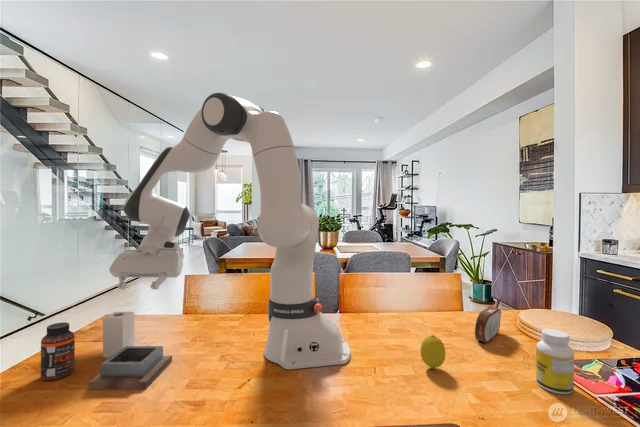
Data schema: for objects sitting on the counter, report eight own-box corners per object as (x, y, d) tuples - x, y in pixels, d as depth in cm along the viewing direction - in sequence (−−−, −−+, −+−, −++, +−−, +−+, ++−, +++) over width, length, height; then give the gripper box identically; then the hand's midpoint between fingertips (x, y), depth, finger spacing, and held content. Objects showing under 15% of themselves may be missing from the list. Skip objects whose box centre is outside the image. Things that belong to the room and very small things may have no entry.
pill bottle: (537, 375, 73) (538, 324, 73) (574, 386, 69) (574, 331, 69) (534, 388, 68) (534, 333, 68) (573, 400, 64) (574, 341, 64)
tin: (491, 329, 101) (491, 302, 101) (502, 332, 98) (503, 305, 98) (473, 344, 90) (473, 314, 90) (485, 347, 88) (485, 316, 88)
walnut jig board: (172, 361, 79) (172, 355, 79) (146, 388, 67) (146, 381, 67) (123, 361, 79) (122, 355, 79) (88, 389, 67) (88, 382, 67)
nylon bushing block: (134, 348, 87) (133, 311, 87) (122, 357, 82) (122, 317, 82) (115, 348, 87) (115, 311, 86) (103, 357, 82) (102, 317, 81)
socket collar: (163, 358, 78) (162, 346, 78) (142, 378, 69) (142, 364, 69) (125, 358, 78) (125, 346, 78) (100, 378, 69) (100, 364, 69)
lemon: (429, 376, 73) (429, 341, 72) (415, 364, 78) (416, 331, 78) (450, 373, 74) (450, 338, 74) (435, 361, 79) (436, 329, 79)
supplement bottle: (55, 383, 70) (55, 331, 69) (33, 380, 71) (32, 329, 71) (81, 369, 75) (80, 321, 75) (60, 367, 77) (59, 319, 76)
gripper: (117, 243, 100) (95, 282, 90) (183, 243, 100) (169, 282, 91) (125, 256, 105) (106, 294, 95) (189, 256, 105) (176, 294, 95)
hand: (137, 288), depth 93 cm, fingers open, 8 cm apart
